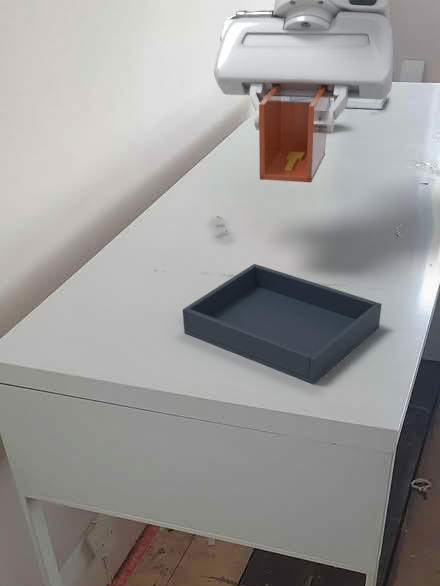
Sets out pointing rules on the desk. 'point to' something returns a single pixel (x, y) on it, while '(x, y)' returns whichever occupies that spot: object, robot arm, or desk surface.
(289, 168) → the key
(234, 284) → the tray
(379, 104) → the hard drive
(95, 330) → the desk surface
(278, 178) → the orange open trough
